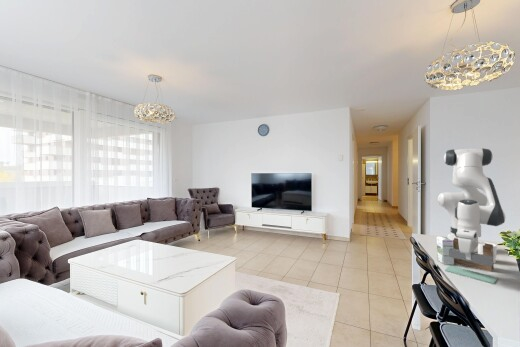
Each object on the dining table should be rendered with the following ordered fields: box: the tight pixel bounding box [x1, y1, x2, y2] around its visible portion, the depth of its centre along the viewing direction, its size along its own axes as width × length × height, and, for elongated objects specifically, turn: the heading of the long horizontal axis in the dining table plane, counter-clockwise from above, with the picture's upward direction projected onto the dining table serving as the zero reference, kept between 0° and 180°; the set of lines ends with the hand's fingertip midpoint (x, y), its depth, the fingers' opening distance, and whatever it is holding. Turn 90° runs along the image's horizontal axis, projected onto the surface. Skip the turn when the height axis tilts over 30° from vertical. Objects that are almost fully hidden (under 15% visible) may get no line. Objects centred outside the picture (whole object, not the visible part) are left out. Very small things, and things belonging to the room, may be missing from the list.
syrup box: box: [436, 236, 455, 266], centre depth 126 cm, size 6×6×14 cm
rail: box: [449, 248, 494, 266], centre depth 111 cm, size 3×16×4 cm, turn 36°
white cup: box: [477, 241, 498, 264], centre depth 128 cm, size 8×8×10 cm
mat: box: [444, 265, 498, 285], centre depth 112 cm, size 9×18×1 cm, turn 36°
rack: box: [453, 238, 495, 273], centre depth 122 cm, size 7×16×13 cm, turn 36°
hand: (469, 258), depth 111 cm, fingers closed on rail, 3 cm apart
